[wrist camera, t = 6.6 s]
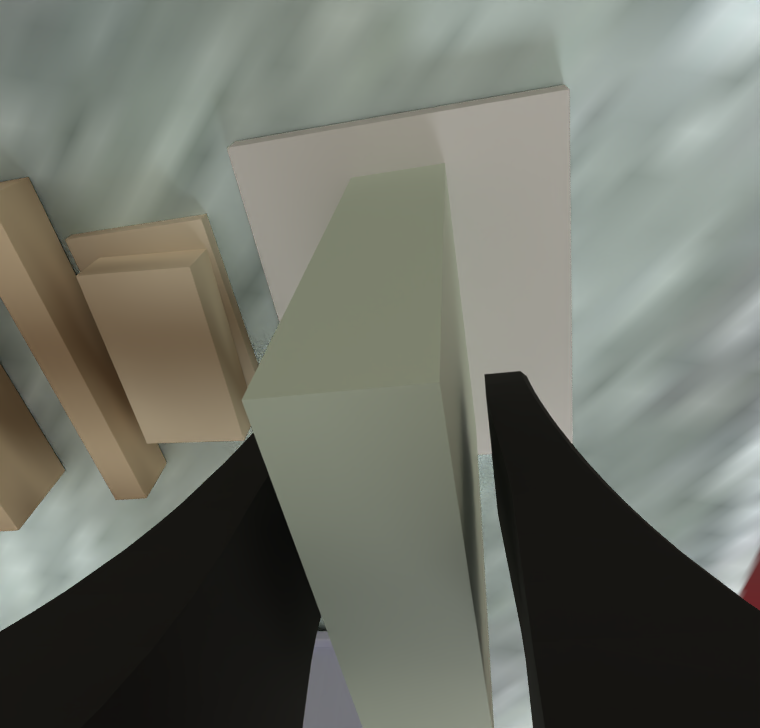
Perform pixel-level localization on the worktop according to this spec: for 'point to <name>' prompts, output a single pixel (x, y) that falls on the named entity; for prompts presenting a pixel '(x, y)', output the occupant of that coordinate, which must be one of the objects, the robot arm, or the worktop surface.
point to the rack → (59, 369)
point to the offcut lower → (167, 239)
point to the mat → (469, 221)
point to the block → (384, 454)
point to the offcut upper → (170, 344)
